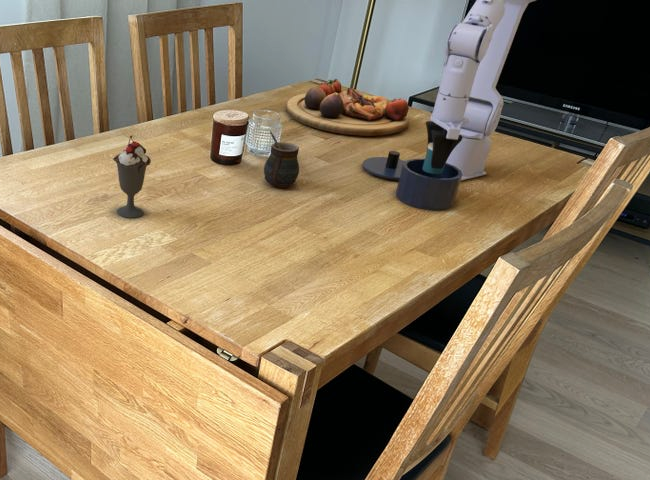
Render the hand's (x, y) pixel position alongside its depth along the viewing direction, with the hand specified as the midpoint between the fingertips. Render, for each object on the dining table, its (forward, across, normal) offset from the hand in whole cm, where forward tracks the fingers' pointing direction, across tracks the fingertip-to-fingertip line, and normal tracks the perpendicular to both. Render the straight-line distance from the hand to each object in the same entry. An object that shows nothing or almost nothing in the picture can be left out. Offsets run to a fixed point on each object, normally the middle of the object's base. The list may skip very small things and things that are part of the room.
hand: (434, 163), depth 144 cm
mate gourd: (+8, 0, +30) cm, 31 cm away
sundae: (+8, -22, +58) cm, 62 cm away
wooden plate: (+8, +52, +12) cm, 53 cm away
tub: (+1, 0, 0) cm, 1 cm away
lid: (+7, +14, +5) cm, 16 cm away
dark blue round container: (+7, 0, 0) cm, 7 cm away
